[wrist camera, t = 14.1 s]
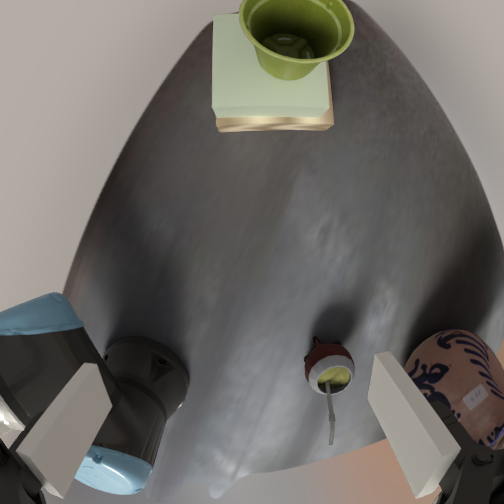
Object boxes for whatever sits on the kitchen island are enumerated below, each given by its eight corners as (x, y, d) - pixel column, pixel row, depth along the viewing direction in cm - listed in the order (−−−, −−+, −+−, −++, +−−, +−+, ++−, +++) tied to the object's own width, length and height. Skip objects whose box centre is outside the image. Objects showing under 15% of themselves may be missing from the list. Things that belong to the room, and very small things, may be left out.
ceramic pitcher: (392, 328, 43) (478, 428, 19) (482, 302, 43) (572, 361, 18) (383, 405, 47) (434, 504, 23) (466, 376, 47) (530, 445, 22)
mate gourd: (333, 323, 43) (366, 382, 28) (351, 359, 44) (383, 419, 30) (289, 346, 44) (305, 412, 29) (310, 380, 45) (329, 446, 31)
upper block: (217, 117, 32) (212, 107, 28) (217, 33, 30) (213, 14, 25) (318, 118, 32) (329, 108, 28) (312, 34, 30) (320, 16, 25)
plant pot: (237, 25, 25) (233, -20, 17) (321, 23, 25) (341, -19, 17) (246, 98, 27) (245, 65, 19) (336, 93, 27) (365, 64, 19)
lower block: (220, 133, 37) (216, 125, 33) (218, 43, 34) (214, 28, 30) (324, 131, 37) (334, 124, 33) (315, 43, 34) (323, 28, 30)
